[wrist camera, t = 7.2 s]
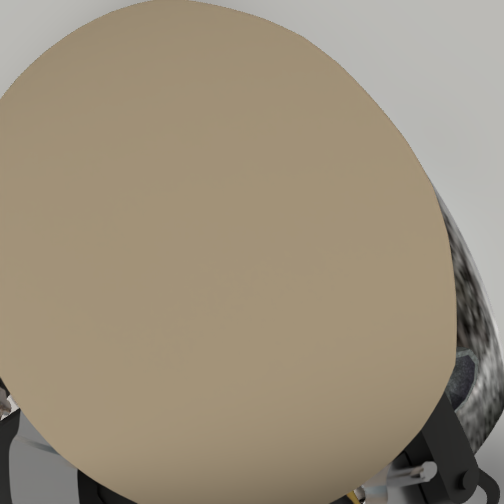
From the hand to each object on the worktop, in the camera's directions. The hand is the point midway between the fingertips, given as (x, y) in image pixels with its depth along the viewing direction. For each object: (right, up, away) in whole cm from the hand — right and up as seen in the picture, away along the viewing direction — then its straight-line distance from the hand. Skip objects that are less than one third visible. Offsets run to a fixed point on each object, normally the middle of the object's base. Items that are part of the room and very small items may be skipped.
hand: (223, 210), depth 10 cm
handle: (-1, -2, +7) cm, 7 cm away
